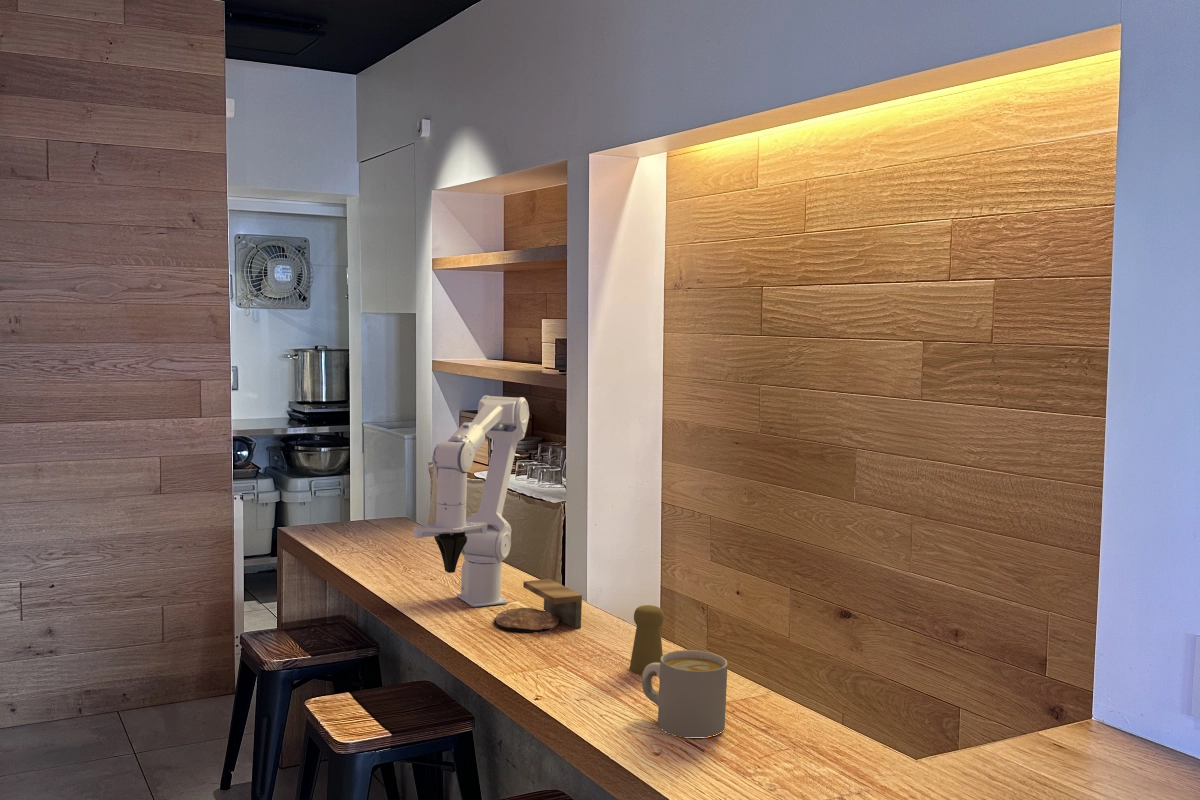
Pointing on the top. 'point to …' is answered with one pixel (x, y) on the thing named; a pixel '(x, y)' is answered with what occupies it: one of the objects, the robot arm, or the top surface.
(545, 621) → the shell
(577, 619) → the walnut shelf
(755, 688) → the top surface
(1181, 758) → the top surface
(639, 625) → the olive pepper mill
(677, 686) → the coffee mug
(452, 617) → the top surface
